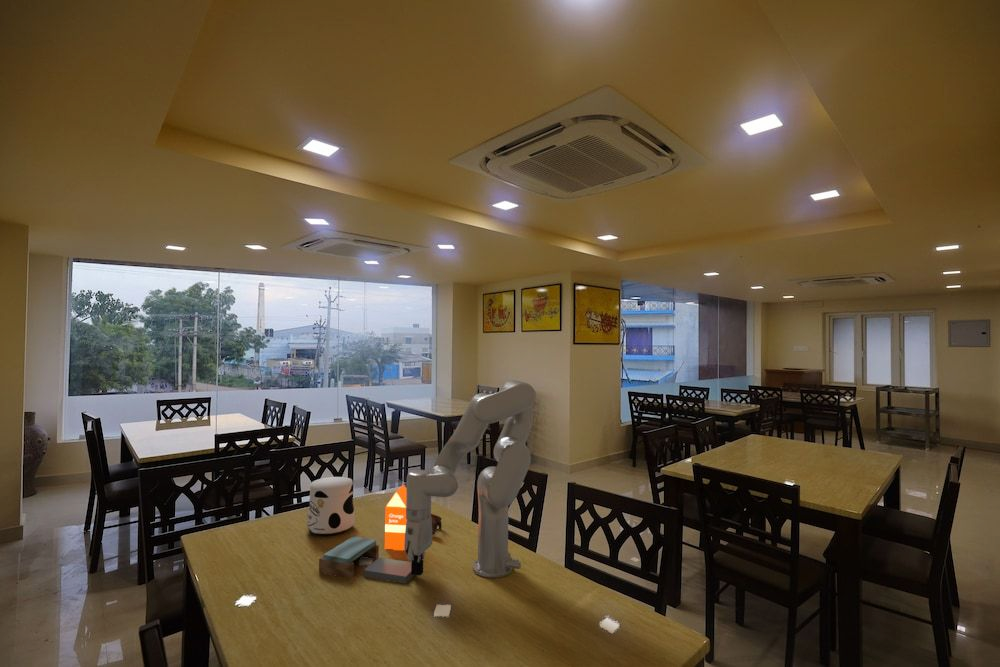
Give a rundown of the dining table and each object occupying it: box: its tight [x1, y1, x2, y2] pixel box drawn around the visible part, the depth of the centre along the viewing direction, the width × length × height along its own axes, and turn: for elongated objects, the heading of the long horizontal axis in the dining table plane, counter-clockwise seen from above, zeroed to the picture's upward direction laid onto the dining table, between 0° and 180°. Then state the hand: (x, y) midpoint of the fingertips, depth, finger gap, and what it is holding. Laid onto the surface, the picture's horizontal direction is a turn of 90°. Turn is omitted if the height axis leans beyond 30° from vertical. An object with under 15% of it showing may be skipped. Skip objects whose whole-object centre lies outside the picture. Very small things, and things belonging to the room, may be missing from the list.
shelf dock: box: [318, 536, 380, 580], centre depth 151 cm, size 12×15×6 cm
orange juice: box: [384, 484, 407, 551], centre depth 167 cm, size 8×9×20 cm
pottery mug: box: [431, 513, 443, 536], centre depth 178 cm, size 12×10×8 cm
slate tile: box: [363, 557, 415, 584], centre depth 146 cm, size 14×9×2 cm, turn 74°
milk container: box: [306, 476, 356, 536], centre depth 180 cm, size 17×17×18 cm
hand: (417, 573), depth 144 cm, fingers closed
